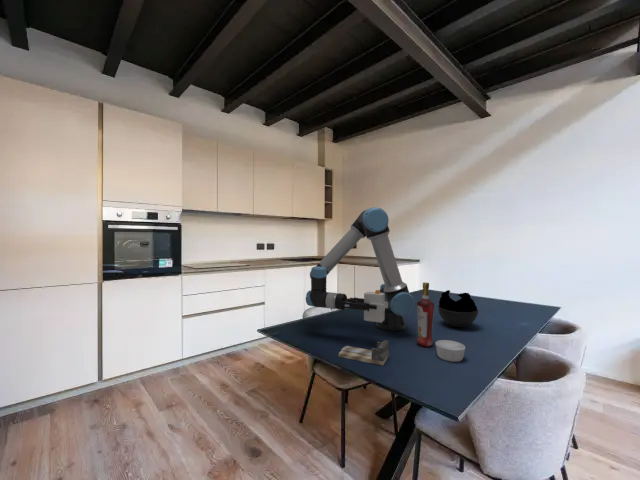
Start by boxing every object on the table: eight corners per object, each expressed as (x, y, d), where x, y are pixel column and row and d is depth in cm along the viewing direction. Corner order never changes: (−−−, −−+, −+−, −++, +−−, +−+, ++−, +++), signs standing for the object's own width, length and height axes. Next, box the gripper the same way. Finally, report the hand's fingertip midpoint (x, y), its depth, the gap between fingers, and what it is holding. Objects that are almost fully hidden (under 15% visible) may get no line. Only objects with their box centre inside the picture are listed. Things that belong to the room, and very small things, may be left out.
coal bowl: (485, 332, 155) (486, 296, 154) (446, 331, 155) (446, 295, 155) (467, 321, 175) (467, 289, 174) (432, 320, 175) (432, 288, 175)
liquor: (412, 343, 137) (413, 282, 137) (425, 341, 140) (426, 281, 140) (424, 348, 131) (425, 284, 130) (437, 346, 134) (438, 283, 133)
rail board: (338, 356, 121) (338, 340, 121) (346, 349, 129) (346, 334, 129) (383, 365, 113) (383, 348, 113) (388, 357, 121) (388, 341, 121)
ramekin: (463, 365, 114) (463, 352, 114) (432, 359, 120) (432, 345, 120) (466, 356, 124) (467, 343, 124) (438, 350, 130) (438, 338, 130)
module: (363, 320, 134) (364, 290, 134) (367, 317, 139) (367, 288, 138) (381, 322, 131) (382, 291, 130) (384, 319, 135) (384, 290, 135)
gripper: (343, 305, 150) (390, 310, 140) (329, 313, 134) (381, 320, 124) (344, 290, 150) (390, 294, 140) (329, 296, 134) (381, 302, 124)
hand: (386, 306), depth 132 cm, fingers closed on module, 5 cm apart
